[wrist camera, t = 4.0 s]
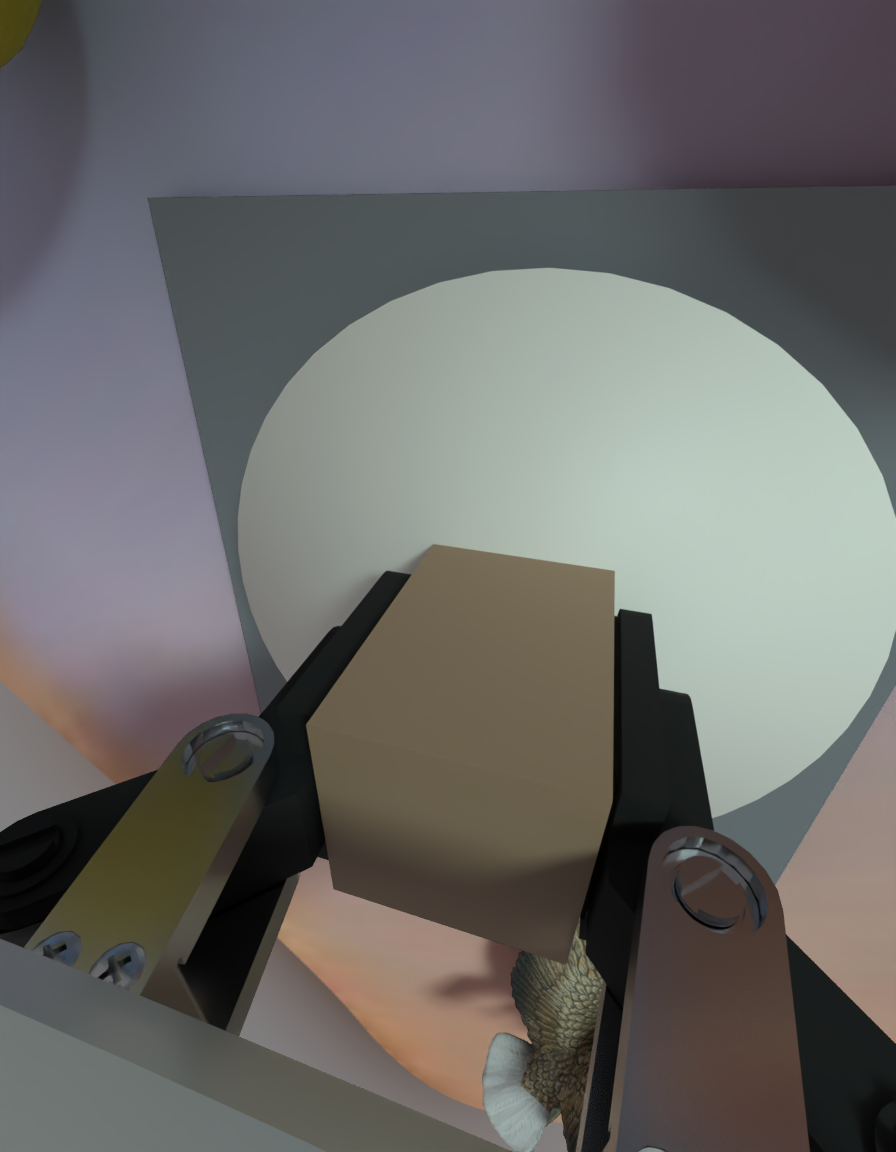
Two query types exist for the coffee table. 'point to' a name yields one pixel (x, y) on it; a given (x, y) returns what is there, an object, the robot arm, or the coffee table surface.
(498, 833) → the lid
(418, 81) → the coffee table surface
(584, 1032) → the eagle figurine
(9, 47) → the lemon
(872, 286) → the mat
